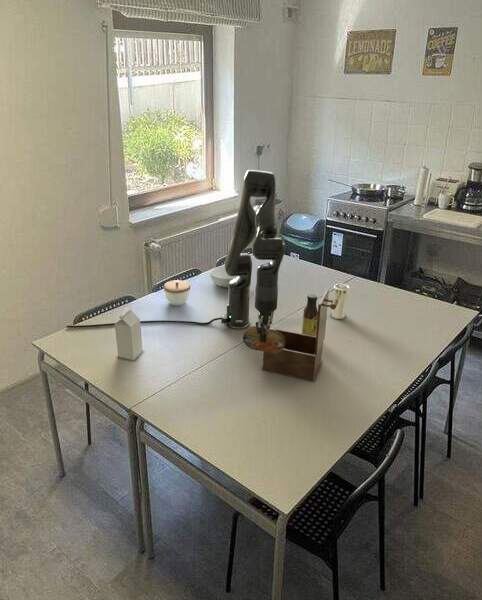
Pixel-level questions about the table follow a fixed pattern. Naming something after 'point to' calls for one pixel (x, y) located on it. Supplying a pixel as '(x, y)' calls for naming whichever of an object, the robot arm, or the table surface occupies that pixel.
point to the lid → (323, 319)
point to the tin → (272, 344)
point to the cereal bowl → (221, 276)
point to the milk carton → (128, 336)
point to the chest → (295, 356)
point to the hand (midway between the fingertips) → (264, 339)
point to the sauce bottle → (310, 316)
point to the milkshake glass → (340, 300)
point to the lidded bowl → (177, 292)
